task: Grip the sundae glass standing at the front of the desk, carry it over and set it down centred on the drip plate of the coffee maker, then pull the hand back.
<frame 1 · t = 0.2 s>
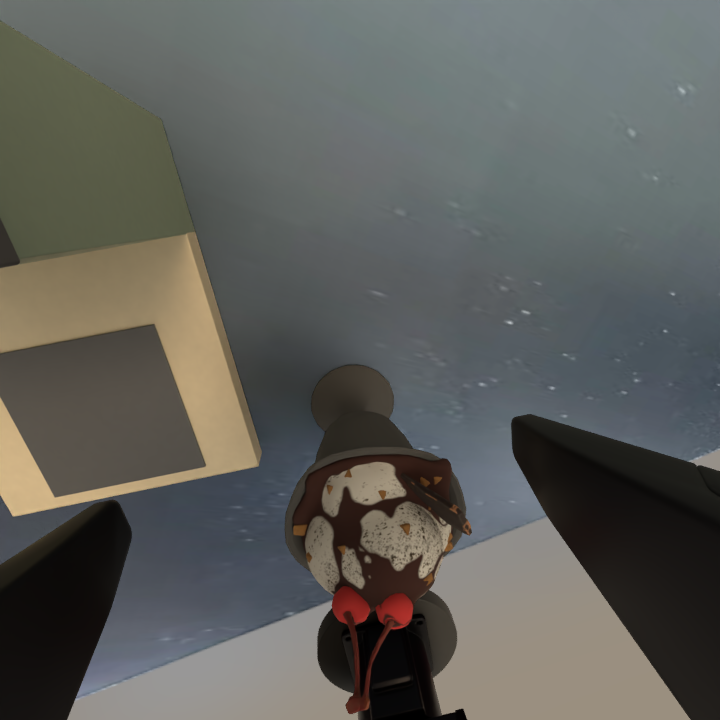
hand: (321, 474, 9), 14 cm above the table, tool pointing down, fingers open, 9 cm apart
sundae: (352, 402, 24), on the table
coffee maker: (94, 353, 22), on the table
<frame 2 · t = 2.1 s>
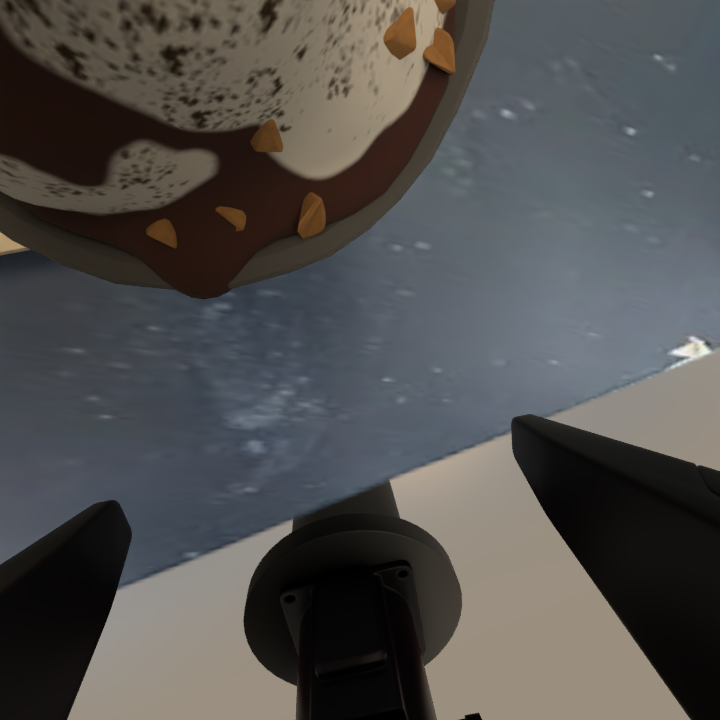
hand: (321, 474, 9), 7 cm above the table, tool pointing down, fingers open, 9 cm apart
sundae: (269, 140, 13), on the table
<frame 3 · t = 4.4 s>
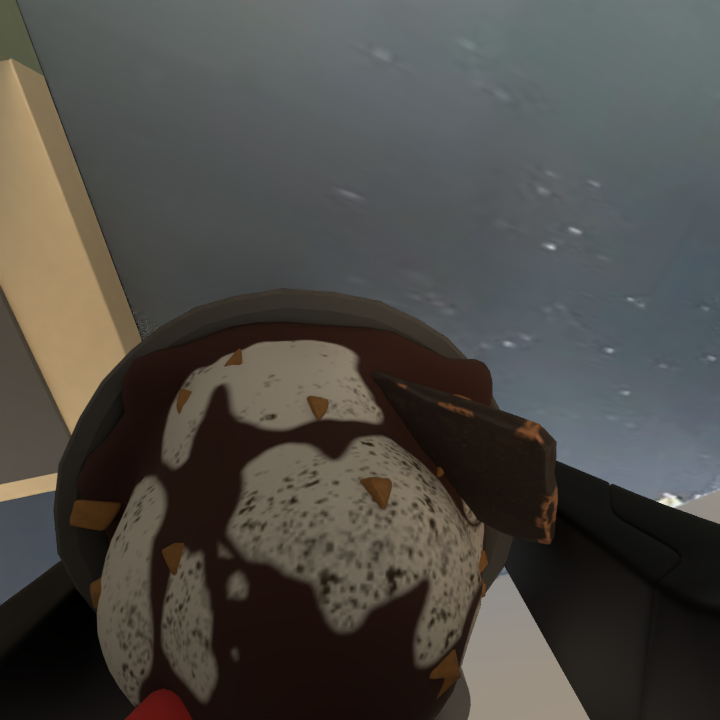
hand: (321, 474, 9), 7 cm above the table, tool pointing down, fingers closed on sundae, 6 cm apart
sundae: (304, 372, 16), on the table, touching gripper
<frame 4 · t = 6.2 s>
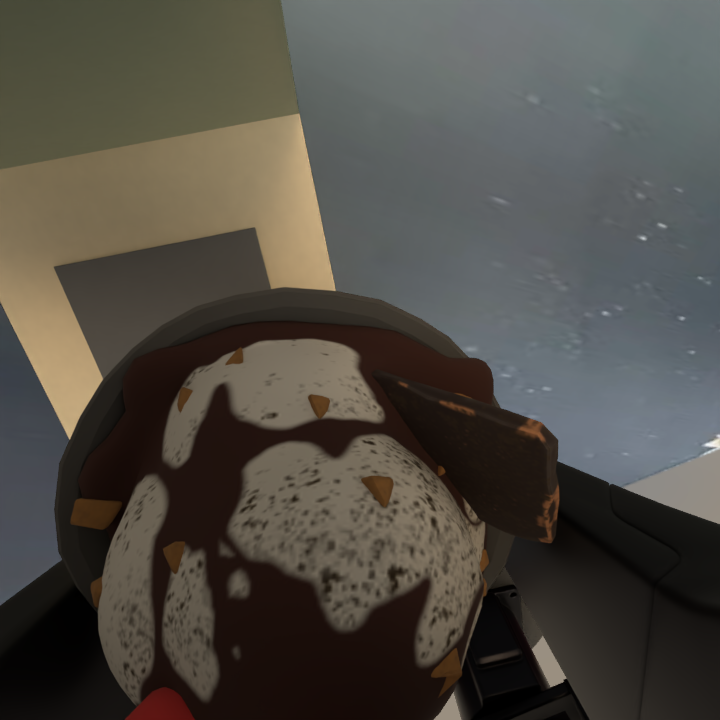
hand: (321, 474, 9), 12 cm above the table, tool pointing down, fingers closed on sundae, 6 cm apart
sundae: (304, 372, 16), point 5 cm above the table, touching gripper
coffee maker: (177, 270, 19), on the table
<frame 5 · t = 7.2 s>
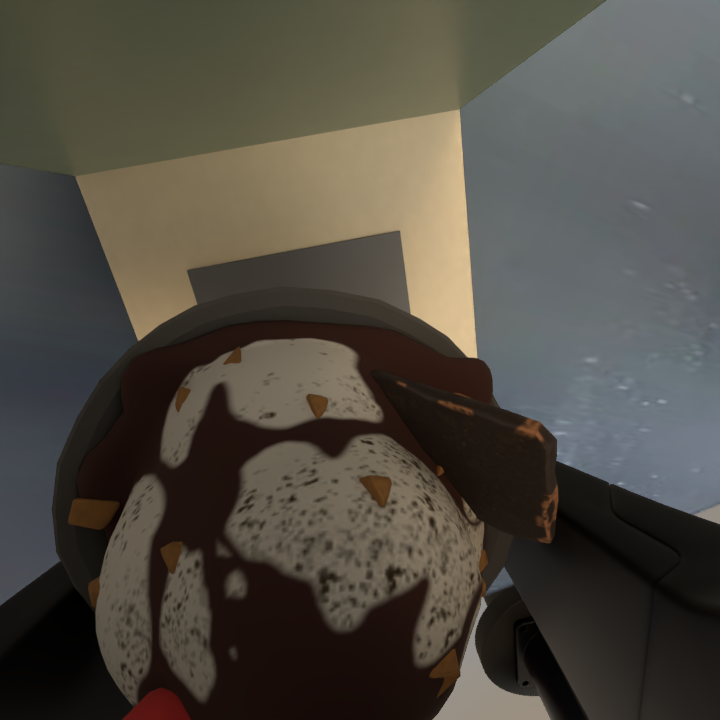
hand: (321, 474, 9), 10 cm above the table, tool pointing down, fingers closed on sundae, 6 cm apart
sundae: (304, 372, 16), point 3 cm above the table, touching gripper
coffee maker: (302, 275, 18), on the table
when the fingers open (9 cm above the table, at t = 8.1 s): sundae stays where it is, resting on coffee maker.
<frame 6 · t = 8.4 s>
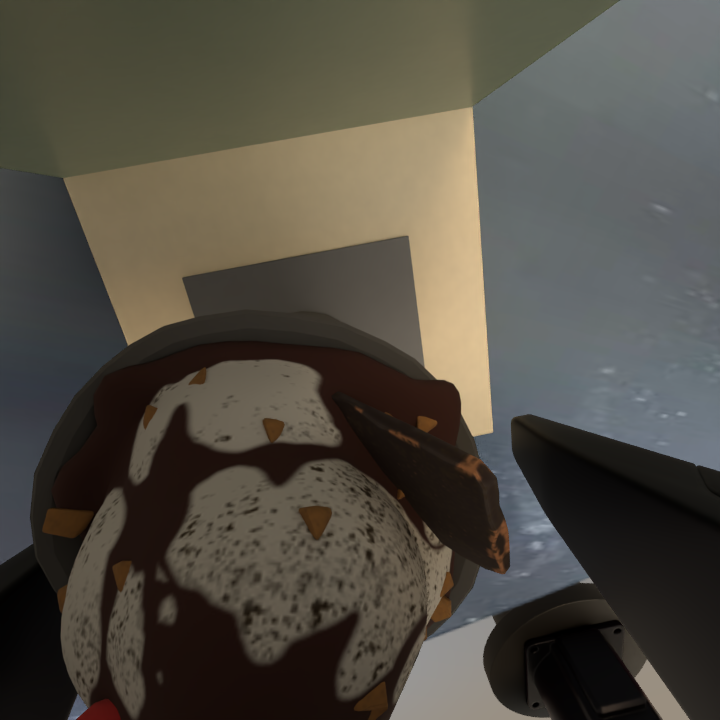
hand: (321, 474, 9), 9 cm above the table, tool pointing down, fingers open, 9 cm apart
sundae: (306, 374, 16), point 2 cm above the table, touching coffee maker, gripper
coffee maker: (304, 282, 17), on the table
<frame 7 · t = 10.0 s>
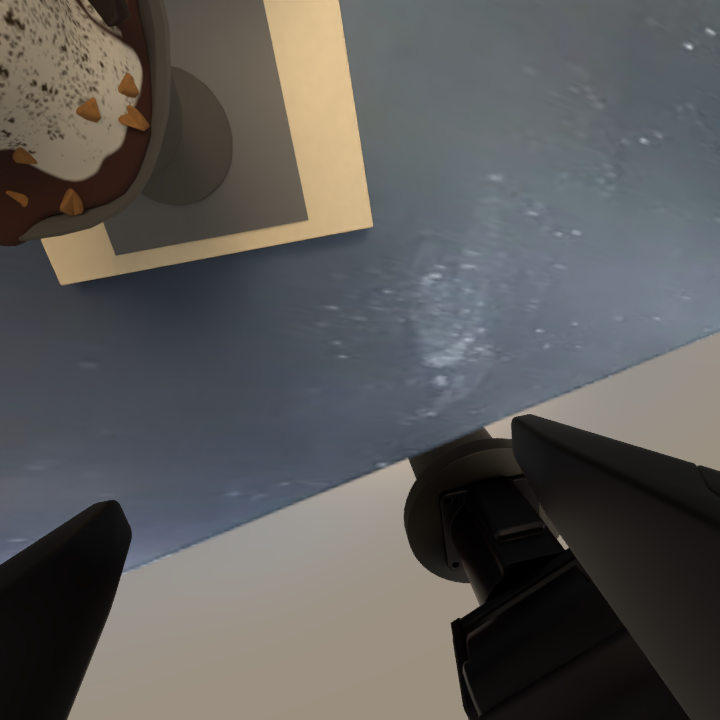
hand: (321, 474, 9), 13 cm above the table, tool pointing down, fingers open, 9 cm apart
sundae: (170, 140, 16), point 2 cm above the table, touching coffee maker
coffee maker: (169, 54, 16), on the table
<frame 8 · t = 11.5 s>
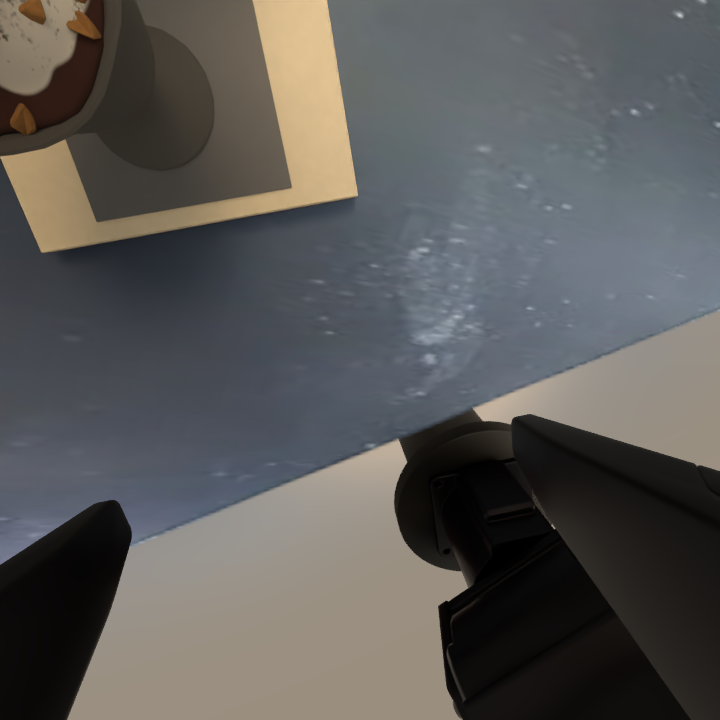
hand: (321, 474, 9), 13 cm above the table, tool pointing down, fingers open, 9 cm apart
sundae: (151, 104, 16), point 2 cm above the table, touching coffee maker
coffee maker: (152, 18, 16), on the table
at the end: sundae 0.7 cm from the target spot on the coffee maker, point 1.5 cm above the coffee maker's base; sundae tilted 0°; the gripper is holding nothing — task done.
